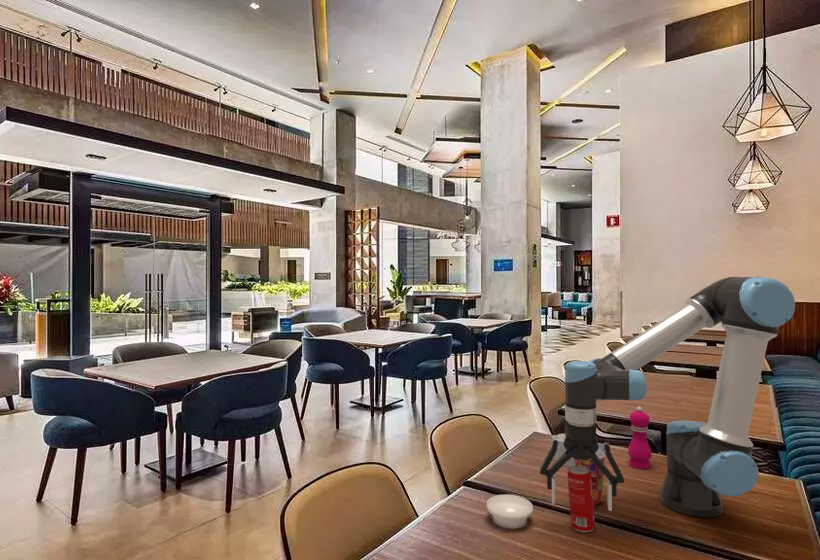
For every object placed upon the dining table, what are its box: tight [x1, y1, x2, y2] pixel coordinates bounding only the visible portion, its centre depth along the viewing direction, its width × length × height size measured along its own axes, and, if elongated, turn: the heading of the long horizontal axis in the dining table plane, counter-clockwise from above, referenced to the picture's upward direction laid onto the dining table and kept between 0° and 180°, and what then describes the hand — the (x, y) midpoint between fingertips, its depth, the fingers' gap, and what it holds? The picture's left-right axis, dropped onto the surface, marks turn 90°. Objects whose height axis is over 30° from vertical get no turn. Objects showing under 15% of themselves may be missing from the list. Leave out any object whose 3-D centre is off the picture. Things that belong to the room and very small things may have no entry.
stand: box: [486, 494, 534, 530], centre depth 128 cm, size 12×12×4 cm
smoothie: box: [574, 449, 606, 506], centre depth 138 cm, size 8×8×20 cm
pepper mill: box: [627, 406, 652, 470], centre depth 163 cm, size 7×7×20 cm
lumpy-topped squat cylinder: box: [551, 433, 575, 469], centre depth 167 cm, size 10×13×9 cm
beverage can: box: [567, 466, 596, 533], centre depth 124 cm, size 6×6×15 cm
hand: (581, 505), depth 124 cm, fingers open, 13 cm apart
